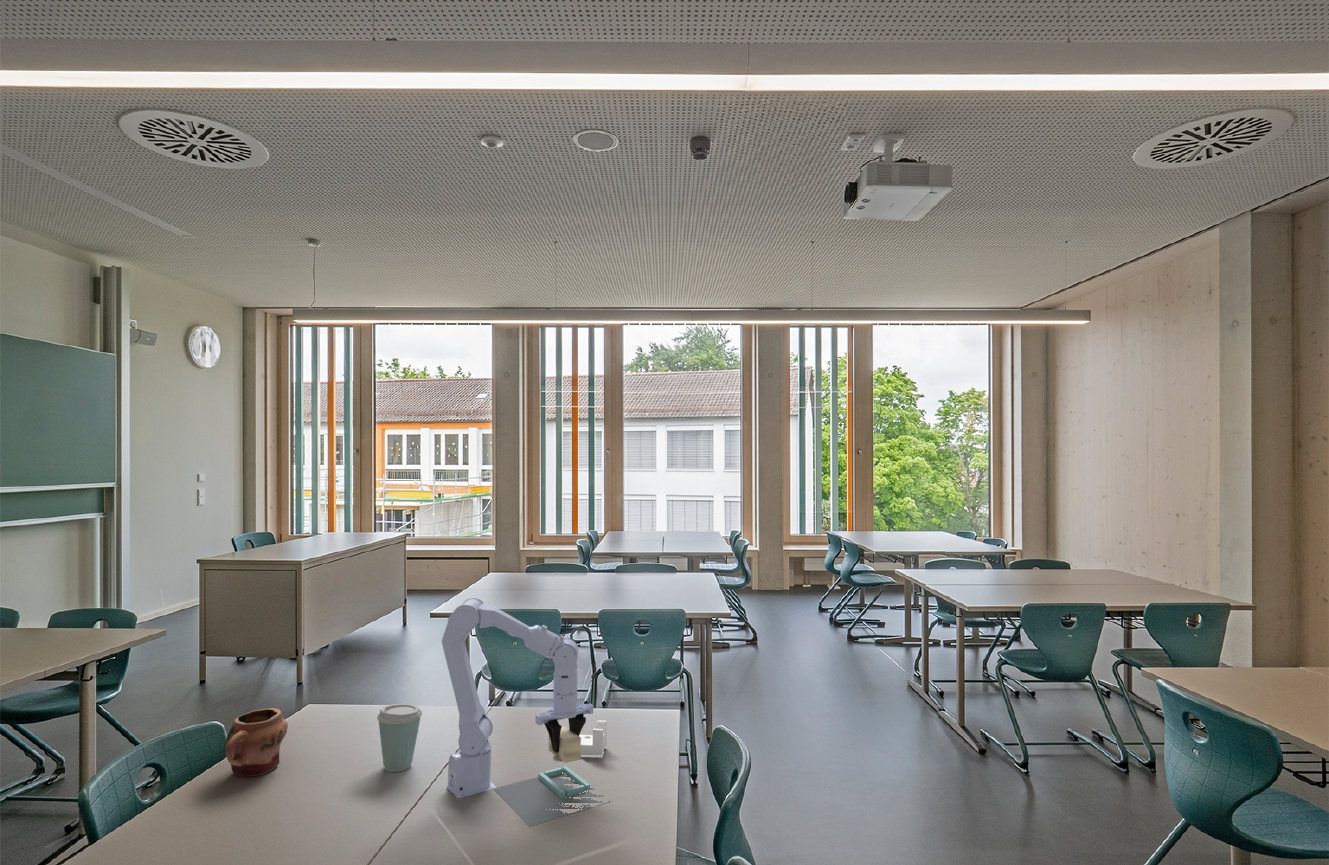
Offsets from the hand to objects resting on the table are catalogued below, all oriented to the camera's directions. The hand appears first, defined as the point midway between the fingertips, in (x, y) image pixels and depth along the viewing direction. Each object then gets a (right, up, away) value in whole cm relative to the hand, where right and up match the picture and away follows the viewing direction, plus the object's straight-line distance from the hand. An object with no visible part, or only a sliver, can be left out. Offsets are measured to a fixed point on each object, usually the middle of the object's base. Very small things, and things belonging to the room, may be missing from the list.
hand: (564, 748), depth 167 cm
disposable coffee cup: (-44, -9, +9) cm, 45 cm away
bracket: (+1, -10, +20) cm, 23 cm away
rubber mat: (-2, -8, -6) cm, 11 cm away
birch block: (0, -1, 0) cm, 1 cm away
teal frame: (0, -9, -1) cm, 9 cm away
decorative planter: (-78, -9, +5) cm, 79 cm away
